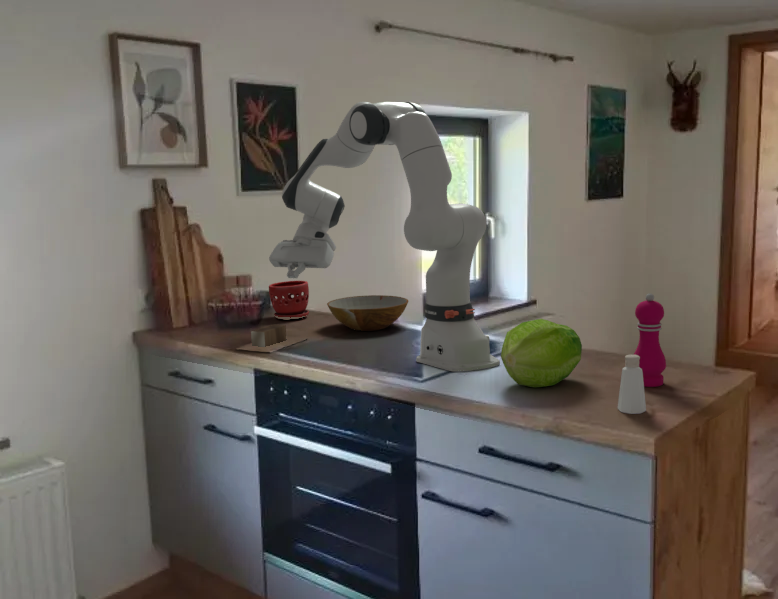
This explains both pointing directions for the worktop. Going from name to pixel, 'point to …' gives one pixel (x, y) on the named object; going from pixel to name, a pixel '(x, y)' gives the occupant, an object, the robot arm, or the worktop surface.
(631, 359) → the pepper shaker
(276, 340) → the block
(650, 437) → the worktop surface
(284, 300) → the plant pot
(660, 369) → the pepper mill
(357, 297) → the bowl
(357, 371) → the worktop surface
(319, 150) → the robot arm
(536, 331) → the lettuce
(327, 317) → the worktop surface
